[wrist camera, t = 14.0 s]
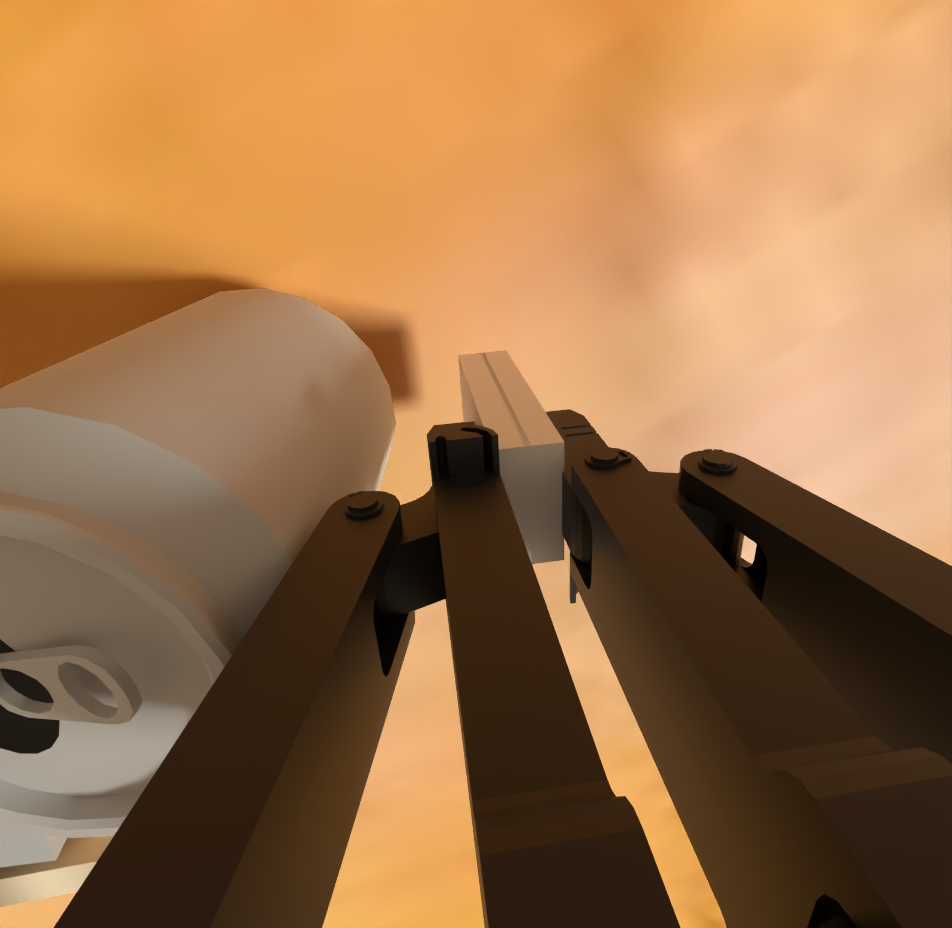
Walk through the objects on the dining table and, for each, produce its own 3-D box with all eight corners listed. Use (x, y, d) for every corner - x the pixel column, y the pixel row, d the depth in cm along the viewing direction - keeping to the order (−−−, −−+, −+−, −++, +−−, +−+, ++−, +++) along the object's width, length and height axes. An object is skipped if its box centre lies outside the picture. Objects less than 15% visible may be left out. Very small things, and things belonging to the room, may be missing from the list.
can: (115, 317, 18) (-461, 540, 7) (354, 253, 17) (124, 391, 6) (221, 526, 21) (-59, 904, 10) (427, 481, 20) (363, 841, 9)
